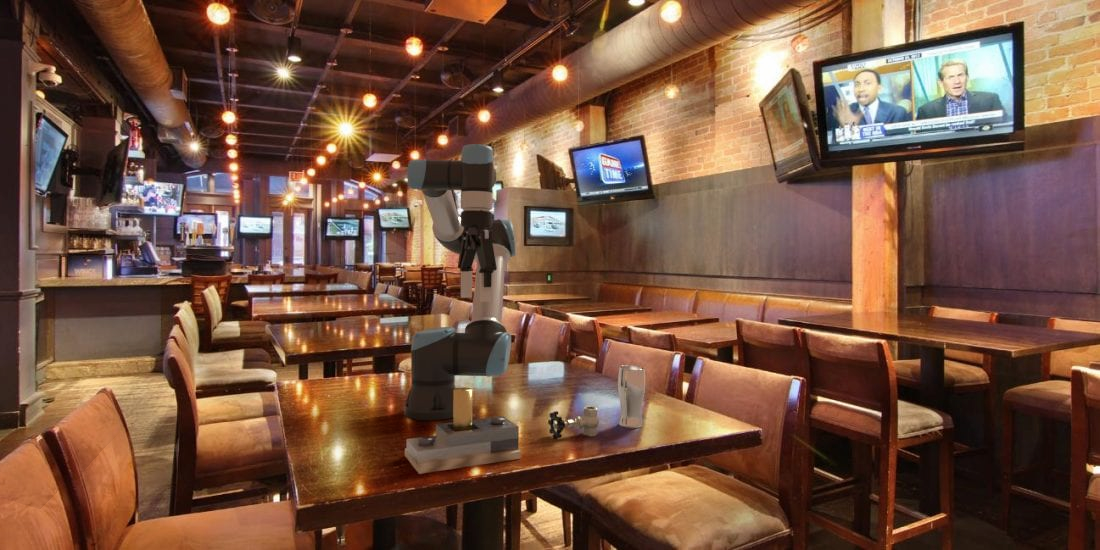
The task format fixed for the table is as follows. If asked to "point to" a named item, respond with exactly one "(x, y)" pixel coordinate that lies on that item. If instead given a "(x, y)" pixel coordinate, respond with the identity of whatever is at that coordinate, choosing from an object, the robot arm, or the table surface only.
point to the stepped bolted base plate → (465, 440)
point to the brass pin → (462, 409)
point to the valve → (575, 422)
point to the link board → (463, 461)
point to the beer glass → (631, 395)
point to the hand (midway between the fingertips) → (475, 299)
